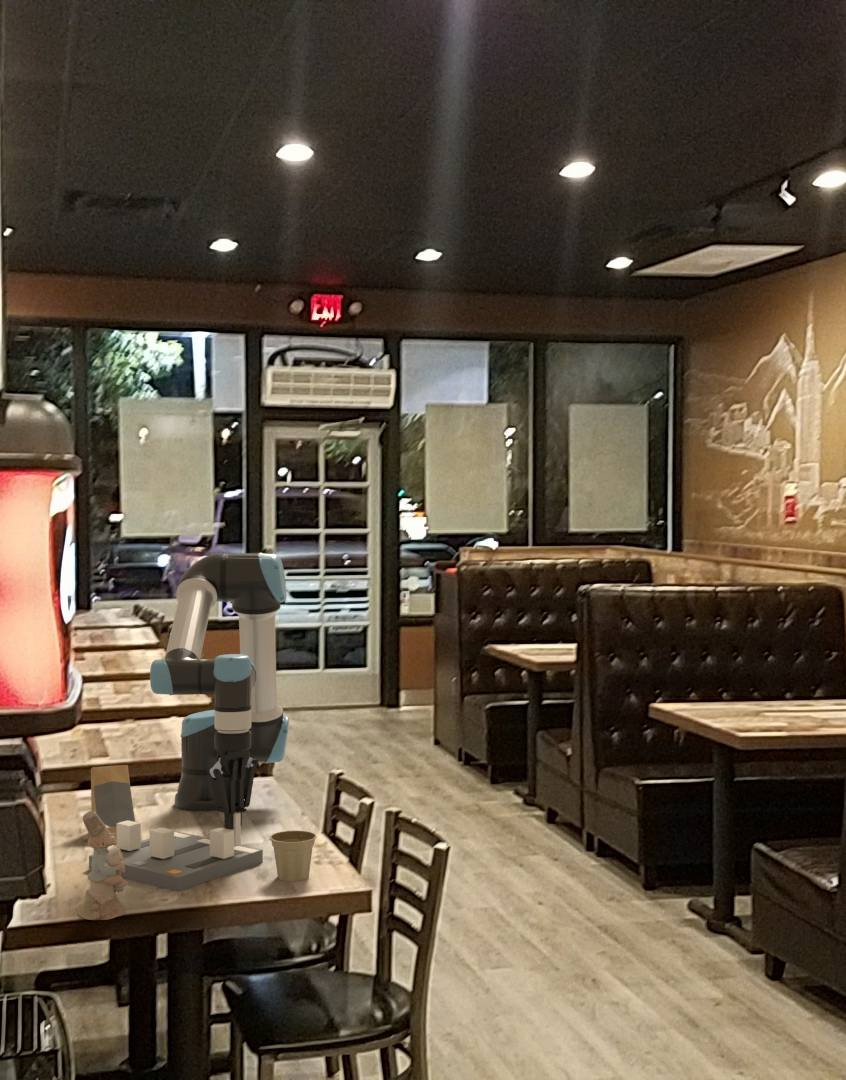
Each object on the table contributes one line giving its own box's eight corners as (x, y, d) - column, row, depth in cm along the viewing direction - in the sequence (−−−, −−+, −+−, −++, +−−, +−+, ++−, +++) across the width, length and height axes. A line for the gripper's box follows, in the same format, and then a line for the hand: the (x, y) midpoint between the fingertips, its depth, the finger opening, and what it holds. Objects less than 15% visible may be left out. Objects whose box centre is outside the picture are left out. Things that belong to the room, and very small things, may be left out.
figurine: (78, 925, 225) (77, 814, 225) (77, 911, 233) (76, 803, 233) (129, 920, 228) (128, 810, 227) (126, 906, 236) (125, 800, 235)
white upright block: (220, 852, 260) (220, 827, 260) (234, 855, 258) (234, 830, 258) (209, 855, 258) (209, 830, 258) (223, 858, 256) (223, 833, 255)
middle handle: (160, 852, 260) (160, 827, 260) (174, 855, 258) (174, 830, 258) (149, 855, 258) (149, 830, 258) (163, 858, 256) (163, 833, 255)
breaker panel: (175, 844, 279) (175, 830, 279) (262, 863, 264) (262, 848, 263) (88, 870, 259) (88, 854, 259) (177, 892, 244) (177, 876, 244)
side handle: (127, 844, 266) (127, 820, 266) (140, 847, 264) (140, 823, 264) (116, 848, 264) (116, 823, 264) (129, 851, 261) (129, 826, 261)
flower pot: (270, 872, 258) (270, 830, 257) (317, 871, 258) (317, 829, 258) (268, 886, 248) (268, 842, 248) (316, 885, 249) (316, 841, 249)
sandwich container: (100, 848, 276) (99, 780, 275) (90, 832, 290) (90, 767, 290) (139, 844, 279) (139, 777, 279) (128, 828, 293) (128, 764, 293)
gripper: (241, 723, 267) (241, 834, 268) (197, 732, 257) (197, 848, 257) (267, 727, 263) (268, 839, 264) (223, 736, 252) (224, 853, 253)
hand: (233, 843), depth 260 cm, fingers closed
